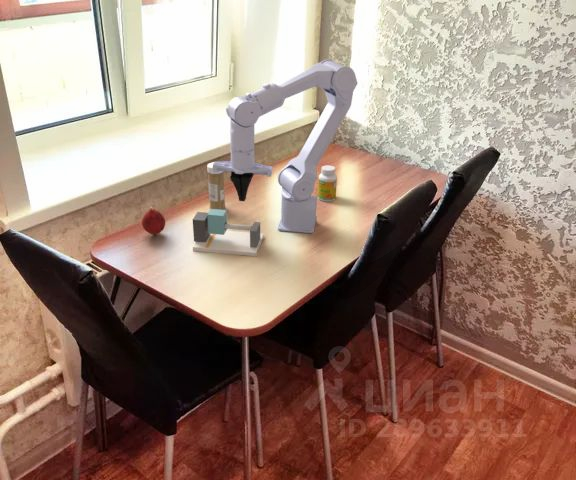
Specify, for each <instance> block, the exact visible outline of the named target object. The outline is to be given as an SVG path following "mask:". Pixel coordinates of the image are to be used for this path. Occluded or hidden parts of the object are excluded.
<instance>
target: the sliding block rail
mask: <svg viewBox="0 0 576 480" xmlns="http://www.w3.org/2000/svg"><path fill="white" fill-rule="evenodd" d="M208 213H209V212H205V211H204V212H203V211H197V212H196V213H195V215H194V216H193V218H192V229H193V230H192V231H193V242H195V243H194V244H193V246H192V251H194V252H203V253H205V252H206V253H214V254H216V253H217V254H225V255H239V256H246V257H247V256H248V257H257V255H258V253H259V251H260V248H261V245H262V243H263V241H264V237H265V235H264V233H261V222H260V221H253V223H252V225H246V224H245V225H244V224H235V223H227V224H224V228H226V229H228V230H226V232H225V234H224V235H219V234H208ZM235 230H236V231H235ZM238 230H239V231H238ZM240 230H241V231H240ZM247 231H249V232H247Z"/></svg>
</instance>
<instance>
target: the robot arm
mask: <svg viewBox="0 0 576 480" xmlns="http://www.w3.org/2000/svg"><path fill="white" fill-rule="evenodd" d="M357 85H358V81H357V75H356V73H355V71H354V70H353V68H351V67H349V66H347V65H343V64H341V63H339V62H336V61H335V60H332V59H330V58H327V59H326V58H325V59H323V60H322V61H320V62H316V63H313V65H312V66H311V67H310V68H308V69H307V70H305V71H303V72H301V73H299V74H297V75H296V76H294V77H292V78H290V79H288V80H286V81H285V82H282V83H281V84H279V85H278V84H275V83H274V82H273V83H268V82H266V83H264V84H262V87H261V88H259V89H257V90H255V91H253V92H251V93H250V92H246V93H245V94H244V95H245V96H235V97H234V98H232V99H231V100H230V102H229V103H228V104H227V105H228V106H227V107H226V108H225V112H226V114H227V116H228V118H230V119H229V120H230V121H229V122H230V130H229V132H230V137H229V138H230V161H228V160H227V161H214V163H213V162H212V163H213V172H217V171H224V173H225V172H227V173H230V177H229V178H230V181H231V182H232V184H233V186H234V188H235V190H236V193H237V197H238V201H239V202H245V201H246V200H247V194H248V189H249V187H250V184H251V181H252V179H253V177H254V175H258V176H259V175H260V176H266V177H270V178H271V177H272V175H273V166H270V165H264V164H261V163H256V162H255V124H256V123H257V122H258V120H259V119H260V117H261V116H264V115H266V114H269V113H270V112H273V111H275V110H277V109H278V108H281V107H282V106H283V105H284V102H285V100H286V99H287V98H290V97H293V96H295V95H297V94H300V93H302V92H304V91H307V90H311V89H312V88H321V89H323V92H324V93H325V97H326V100H327V104H326V105H325V107H324V109H323V111H322V113H321V114H320V116H319V118H318V119H317V122H316V123H315V125H314V127H313V129H312V130H311V132H310V134H309V135H308V138H307V140H306V141H305V143H304V145H303V147H302V148H301V150H300V152H299V153H298V155H297V156H296V157H294V158H292V159H290V160H289V161H288V163H287V164H286V165H285V166H284V167H282V169H280V170H279V173H278V176H277V181H278V184H279V186H281V208H280V209H281V211H280V212H281V213H280V214H281V215H280V218H281V219H280V222H279V224H278V228H277V230H278V231H283V232H293V233H295V232H296V233H304V234H305V233H306V234H313V233H314V231H315V226H316V224H317V217H318V216H317V208H318V207H317V205H318V204H317V202H318V196H315V195H312V194H313V193H314V191H315V183H316V181H317V179H318V172H317V167H318V164H319V163H320V161H321V159H322V158H323V156H324V154H325V153H326V151H327V149H328V147H329V145H330V144H331V142H332V140H333V138H334V137H335V135H336V133H337V131H338V129H339V128H340V126H341V124H342V123H343V120H345V117H346V115H347V113H348V111H349V110H350V109H351V106H352V101H353V95H354V90H355V89H356V88H357Z"/></svg>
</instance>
